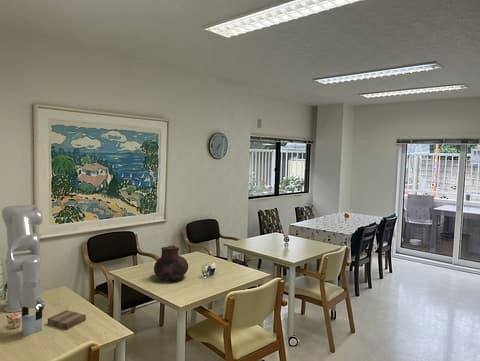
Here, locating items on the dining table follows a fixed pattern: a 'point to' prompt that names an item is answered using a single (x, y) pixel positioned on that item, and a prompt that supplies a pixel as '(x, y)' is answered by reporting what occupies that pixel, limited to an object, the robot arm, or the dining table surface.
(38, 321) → the medicine box
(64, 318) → the walnut stand
